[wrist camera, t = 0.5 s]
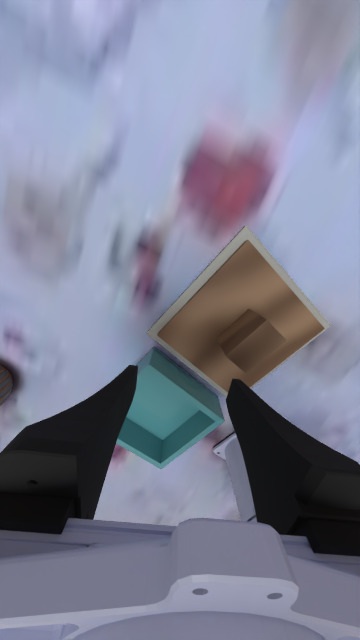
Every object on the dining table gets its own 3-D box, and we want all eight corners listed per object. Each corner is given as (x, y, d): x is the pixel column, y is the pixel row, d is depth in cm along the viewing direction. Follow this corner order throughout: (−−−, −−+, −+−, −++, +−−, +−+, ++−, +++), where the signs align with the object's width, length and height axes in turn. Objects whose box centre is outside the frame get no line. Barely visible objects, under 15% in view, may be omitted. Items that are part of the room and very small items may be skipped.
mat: (327, 324, 21) (331, 325, 20) (231, 399, 24) (232, 402, 24) (244, 226, 17) (246, 225, 17) (147, 331, 21) (146, 333, 20)
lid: (319, 326, 20) (360, 344, 16) (233, 394, 23) (246, 425, 19) (245, 240, 17) (269, 232, 13) (157, 332, 20) (151, 352, 16)
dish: (217, 396, 24) (224, 421, 20) (163, 440, 27) (161, 469, 23) (154, 346, 21) (148, 364, 18) (101, 400, 24) (87, 426, 20)
